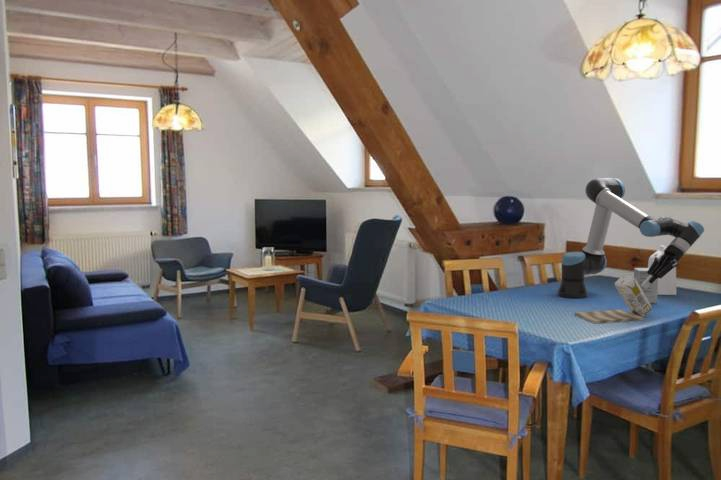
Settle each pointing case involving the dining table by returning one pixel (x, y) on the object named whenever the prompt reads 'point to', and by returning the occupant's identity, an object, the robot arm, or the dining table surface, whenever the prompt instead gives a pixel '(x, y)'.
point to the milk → (666, 282)
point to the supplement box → (651, 291)
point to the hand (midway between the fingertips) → (643, 287)
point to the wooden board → (609, 316)
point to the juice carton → (633, 295)
